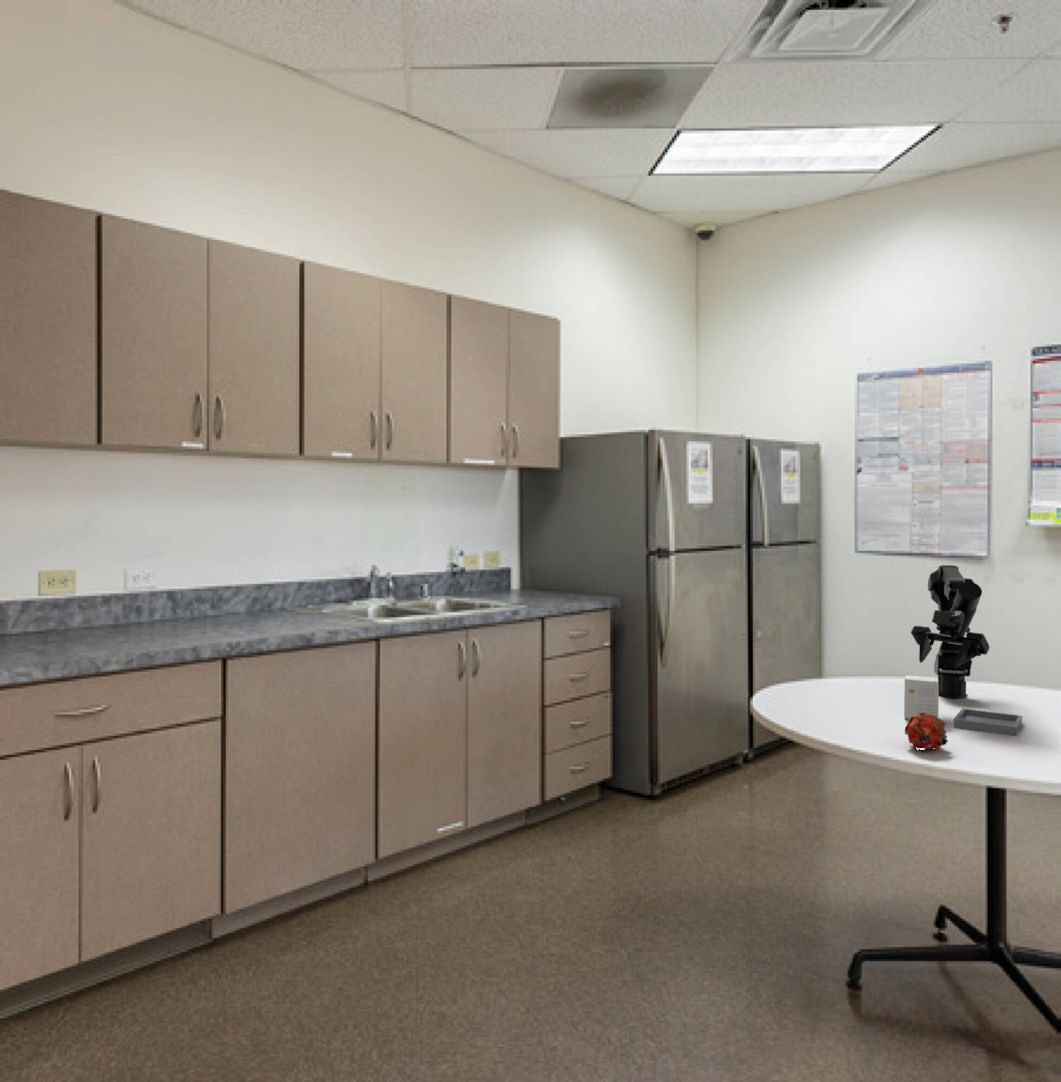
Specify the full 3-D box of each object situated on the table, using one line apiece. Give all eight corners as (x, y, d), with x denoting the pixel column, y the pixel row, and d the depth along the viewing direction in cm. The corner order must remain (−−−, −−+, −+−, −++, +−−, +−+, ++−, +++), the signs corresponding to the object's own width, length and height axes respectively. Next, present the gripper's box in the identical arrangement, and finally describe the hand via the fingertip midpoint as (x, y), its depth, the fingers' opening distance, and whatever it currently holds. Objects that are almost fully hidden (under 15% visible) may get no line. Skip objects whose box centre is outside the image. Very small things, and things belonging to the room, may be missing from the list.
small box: (938, 717, 221) (938, 677, 220) (938, 722, 216) (939, 681, 215) (904, 714, 224) (905, 674, 223) (903, 719, 219) (904, 678, 218)
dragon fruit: (930, 748, 198) (927, 769, 188) (898, 724, 201) (893, 744, 190) (955, 723, 195) (953, 743, 184) (922, 698, 197) (918, 717, 187)
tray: (953, 726, 211) (953, 718, 211) (962, 715, 222) (962, 708, 222) (1016, 735, 204) (1016, 727, 203) (1022, 723, 215) (1022, 715, 215)
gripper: (915, 596, 234) (892, 640, 227) (985, 602, 219) (963, 649, 212) (929, 622, 239) (907, 666, 232) (998, 630, 224) (977, 677, 218)
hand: (937, 664), depth 224 cm, fingers open, 9 cm apart
